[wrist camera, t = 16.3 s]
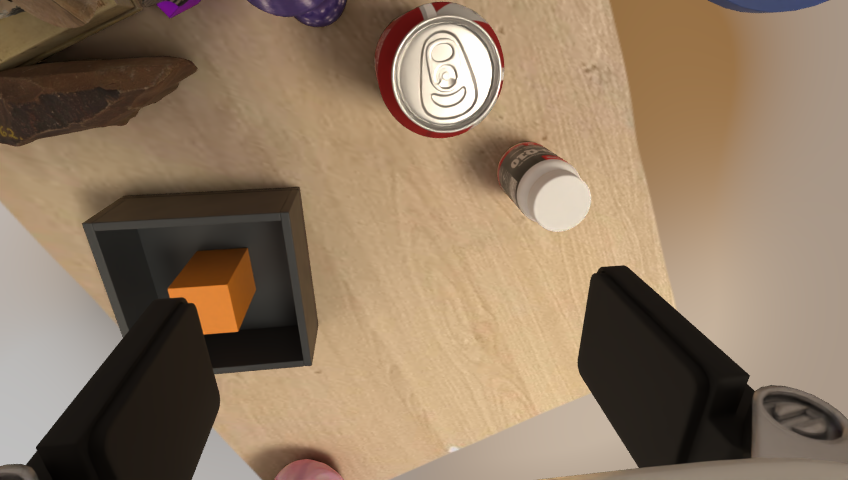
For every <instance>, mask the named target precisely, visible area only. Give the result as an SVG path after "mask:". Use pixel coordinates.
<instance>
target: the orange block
mask: <svg viewBox="0 0 848 480" xmlns="http://www.w3.org/2000/svg"><path fill="white" fill-rule="evenodd" d="M255 291H256V287H255V282H254V277H253V272H252V267H251V262H250V257H249V252H248V248H238V249H222V250H207V251H197V252H196V253H195V254H194V255H193V257H192V258H191V259H190V261H189V262H188V263H187V264H186V266H185V267H184V268H183V269H182V271H181V272H180V273H179V275H178V276H177V277H176V278H175V280H174V281H173V282H172V284H171V285H170V286H169V287H168V293H169V296H170V298H178V297H183V298H185V299H186V300H187V302H188V303H194V304H195V306H196V308H197V312H198V315H199V319H200V323H201V327H202V330H203V334H217V333H229V332H238V331H239V329H240V326H241V324H242V322H243V319H244V317H245V315H246V312H247V310H248V308H249V305H250V303H251V301H252V298H253V296H254V294H255Z"/></svg>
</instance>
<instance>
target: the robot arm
mask: <svg viewBox="0 0 848 480" xmlns="http://www.w3.org/2000/svg"><path fill="white" fill-rule="evenodd" d="M578 369H579V373H580V375H581V377H582V378H583V380H584V382H585V383H586V385H587V386H588V388H589V389H590V391H591V393H592V394H593V396H594V397H595V399H596V401H597V402H598V404H599V405H600V407H601V408H602V410H603V412H604V413H605V415H606V416H607V418H608V420H609V421H610V423H611V424H612V426H613V427H614V429H615V431H616V432H617V434H618V435H619V437H620V438H621V440H622V442H623V443H624V445H625V446H626V448H627V450H628V451H629V453H630V454H631V456H632V458H633V459H634V461H635V462H636V464H637V466H638V467H639V468H636V469H627V470H618V471H609V472H601V473H592V474H583V475H574V476H566V477H556V478H548V479H539V480H848V419H847V418H846V417H845V416H844V415H843V414H842V413H841V412H840V411H838V410H837V409H836V408H834V407H833V406H832V405H830V404H829V403H827V402H825V401H823V400H822V399H820V398H818V397H816V396H814V395H812V394H809V393H806V392H804V391H801V390H798V389H794V388H790V387H786V386H774V385H770V386H765V387H761V388H759V389H758V390H756V391H754V390H753V389H752V388H751V387H750V386H749V385H747V382H748V379H749V376H750V375H749V374H748V373H746V372H745V371H744V370H743V369H742V368H741V367H740V366H739V365H737V364H736V363H735V362H734V361H733V360H732V359H731V358H730V357H728V356H727V355H726V354H725V353H724V352H723V351H722V350H721V349H719V348H718V347H717V346H716V345H715V344H714V343H712V342H711V341H710V340H709V339H708V338H707V337H706V336H705V335H703V334H702V333H701V332H700V331H699V330H698V329H697V328H696V327H695V326H693V325H692V324H691V323H690V322H689V321H688V320H687V319H686V318H684V317H683V316H682V315H681V314H680V313H679V312H678V311H677V310H675V309H674V308H673V307H672V306H671V305H670V304H669V303H668V302H666V301H665V300H664V299H663V298H662V297H661V296H660V295H659V294H657V293H656V292H655V291H654V290H653V289H652V288H651V287H649V286H648V285H647V284H646V283H645V282H644V281H643V280H642V279H640V278H639V277H638V276H637V275H636V274H635V273H634V272H633V271H631V270H630V269H629V268H628V267H626V266H609V267H601V268H599V270H598V272H597V273H594V274H593V275H592V277H591V280H590V286H589V293H588V299H587V305H586V312H585V318H584V324H583V330H582V337H581V343H580V349H579V355H578ZM219 406H220V395H219V390H218V387H217V383H216V379H215V375H214V372H213V368H212V364H211V360H210V357H209V353H208V349H207V345H206V342H205V338H204V334H203V330H202V327H201V323H200V319H199V315H198V312H197V308H196V306H195V304H194V303H188V302H187V300H186V299H185V298H183V297H178V298H164V299H155V300H154V301H152V303H151V304H150V305H149V306H148V308H147V309H146V310H145V311H144V313H143V314H142V315H141V316H140V318H139V319H138V320H137V321H136V323H135V324H134V325H133V326H132V328H131V329H130V330H129V331H128V333H127V334H126V335H125V336H124V338H123V339H122V340H121V341H120V343H119V344H118V345H117V346H116V348H115V349H114V350H113V352H112V353H111V354H110V355H109V356H108V358H107V359H106V360H105V362H104V363H103V364H102V365H101V366H100V368H99V369H98V370H97V371H96V373H95V374H94V375H93V376H92V378H91V379H90V380H89V381H88V383H87V384H86V385H85V386H84V388H83V389H82V390H81V391H80V393H79V394H78V395H77V396H76V398H75V399H74V400H73V402H72V403H71V404H70V405H69V406H68V408H67V409H66V410H65V411H64V413H63V414H62V415H61V416H60V418H59V419H58V420H57V422H56V423H55V424H54V425H53V426H52V428H51V429H50V430H49V432H48V433H47V434H46V435H45V436H44V438H43V439H42V440H41V441H40V443H39V444H38V445H37V447H36V449H37V452H36V453H35V454H34V455H33V457H32V458H31V459H30V461H29V462H28V463H27V464H26V465H23V464H11V465H10V464H9V465H3V466H0V480H192V477H193V475H194V472H195V470H196V467H197V464H198V462H199V459H200V457H201V454H202V451H203V448H204V446H205V444H206V441H207V439H208V436H209V434H210V431H211V429H212V426H213V423H214V421H215V418H216V416H217V413H218V410H219Z"/></svg>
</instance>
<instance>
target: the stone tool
mask: <svg viewBox="0 0 848 480" xmlns="http://www.w3.org/2000/svg"><path fill="white" fill-rule="evenodd" d="M196 71H197V67H196V66H195V65H194V64H193V63H192V62H191V61H190V60H186V59H182V58H176V57H170V56H156V57H137V58H124V59H110V60H77V61H67V62H53V63H44V64H35V65H30V66H24V67H17V68H11V69H7V70H3V71H0V143H2V144H8V145H12V146H22V145H25V144H28V143H30V142H33V141H35V140H37V139H41V138H46V137H51V136H57V135H62V134H67V133H72V132H78V131H83V130H87V129H91V128H96V127H107V126H112V125H117V126H122V125H125V124H127V123H128V121H129V120H130V119H131V118H133V117H135V116H136V115H137V113H138V111H139V110H140V108H142V107H144V106H147V105H150V104H152V103H156V102H158V101H159V100H161V99H162V98H163V97H164V96H166V95H168V94H169V93H171V92H172V91H174V90H175V89H176V88H177V87H178V82H179V81H181V80H183V79H184V78H186V77H188V76H190V75H191V74H193V73H194V72H196Z"/></svg>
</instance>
